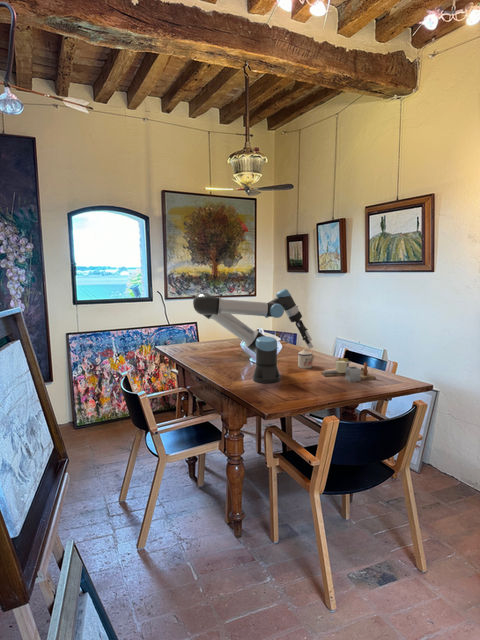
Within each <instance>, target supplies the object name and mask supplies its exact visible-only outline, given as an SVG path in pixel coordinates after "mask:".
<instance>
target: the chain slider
mask: <svg viewBox="0 0 480 640" xmlns="http://www.w3.org/2000/svg"><path fill="white" fill-rule="evenodd" d="M345 367H347V362H345V361H335V369H333V370H332V369H331V370H323V373H335V372H338V373H345Z"/></svg>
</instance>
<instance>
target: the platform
mask: <svg viewBox="0 0 480 640" xmlns="http://www.w3.org/2000/svg"><path fill="white" fill-rule="evenodd" d="M336 361H345V362H347V367H350V366H349V364H351V360H349V358H346V357H345V358H344V357H338V359H335V362H336Z"/></svg>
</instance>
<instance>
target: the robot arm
mask: <svg viewBox="0 0 480 640" xmlns="http://www.w3.org/2000/svg"><path fill="white" fill-rule="evenodd" d="M192 305H193V309H194V311H195V312H196V313H198V314H199V315H202V316H204V318H205V319H208V320H213V321H214V322H216V323H218V324H219V325H220V326H222V327H223V328H224V329H226V330H227V331H229V332H230V333H231V334H232V335H234V336H235V337H237V338H238V339H239V340H241V341H242V342H244V343H245V347H246V348H248V349H249V351H251V352H253V353H254V354H255V368H254V370H253V375H252V380H253V382H256V383H261V384H272V383H278V382H279V381H280V380H281V375H280V371H279V369H278V341H277V338H275V337H273V336H268V335H267V336H266V335H264V334H263V333H262V332H260V331H259V330H254V329H252V328H250V327H249V326H248V325H246V323H244V322H243V321H241V320H240V319H239V318H238V317H236V316H235V315H243V316H258V317H264V318H266V319H269V318H275V319H278V318H281V317H282V316H283V315H284V313H285V314H286V316H287V317H288V319H289V321H290V322H291V323H295V326H296V327H297V330H298V331H299V334H300V335H301V337H302V341H304V343H305V344H306V346H307V348H308V349H309V350H310V349H313V348H314V346H313V343H312V342H311V341H312V340H313V339H312V337H311V335H310V333H309V332H308V328H306V326H305V324H304V322H303V320H301V319H302V318H303V315H302V312H301V310H300V309H299V305H297V304H296V301H294V298H293V296H292V294H291V293H290V292H289V290H288V289H287V288H283V289H281V290H279V291H278V292H276V294H275V298H274V299H272V300H271V301H269V302H261V301H248V300H238V299H237V300H235V299H224V298H221V297H220V296H213V295H211V294H210V293H208V292H206V291H205V292H203V291H202V292H200V293H197V294H196V295H195V296H194V298H193V302H192Z"/></svg>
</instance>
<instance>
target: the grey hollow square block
mask: <svg viewBox="0 0 480 640" xmlns="http://www.w3.org/2000/svg"><path fill="white" fill-rule="evenodd" d="M360 376H361V367H358V366H355V365H354V366H349V367H345V376H344V378H345V380H346V381H347V380H348V382H349V383H353V382H354V383H357V382H356V381H359V382H361V379H360Z"/></svg>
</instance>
